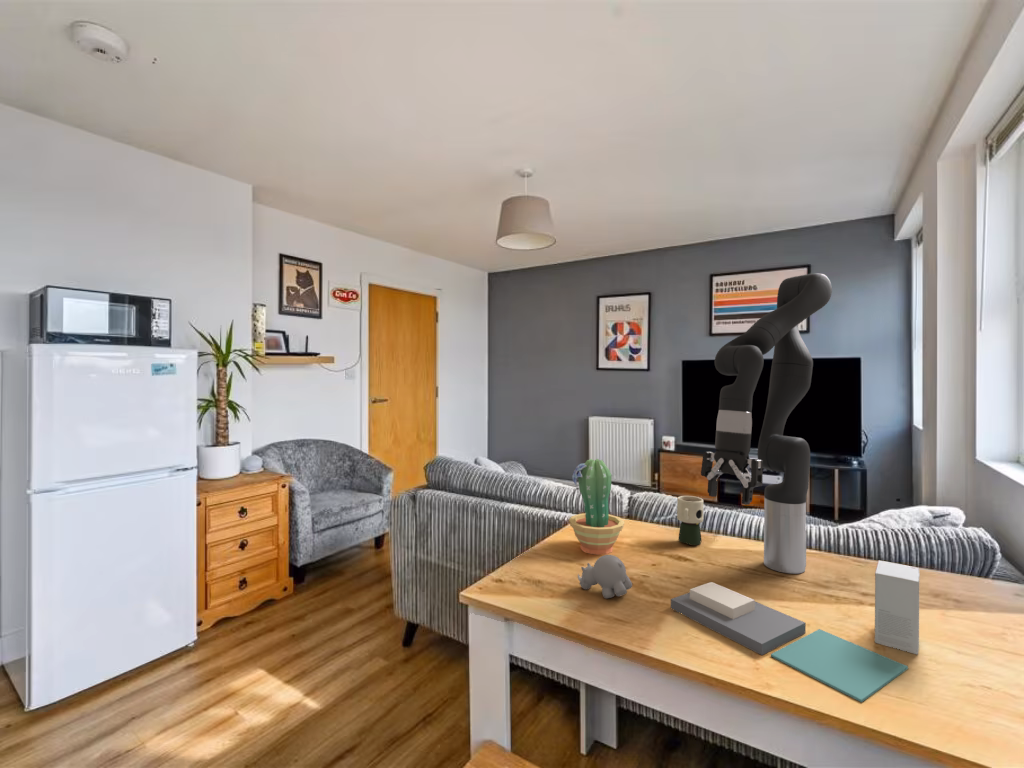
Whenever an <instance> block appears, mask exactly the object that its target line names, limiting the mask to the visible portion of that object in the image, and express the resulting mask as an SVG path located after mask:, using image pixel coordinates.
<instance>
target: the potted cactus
mask: <svg viewBox="0 0 1024 768" xmlns="http://www.w3.org/2000/svg"><path fill="white" fill-rule="evenodd" d="M571 477H572V479H571V480H572V482H573V483H574V486H578V489H579V492H580V495H581V497H582V502H583V507H584V513H579V514H575V515H571V517H570V518H569V519H568V522H569V526H570V527H571V528H572V529H573V532H574V535H575V538H576V539H577V540H578V542H579V543H580V550H581V551H582V552H584V553H587V554H591V555H609V554H610V553H612V552H613V550H614V548H613V546H614V544H615V543H616V542H617V540H618V538H619V535H620V532H622V530H623V529H624V525H625V520H624V519H622V518H621V517H620V516H616V515H612V514H610V513H609V497H610V493H611V490H612V473H611V470H610V468H609V467H608V466H607V465H606V463H605V462H604V461H603V459H600V460H599V458H596V459H592V458H589V459H587V460H586V461H585V463H579V464H578V465H577V466H576V467H575V469H574V471H573V474H572V476H571ZM577 481H578V482H577Z"/></svg>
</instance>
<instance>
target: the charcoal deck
mask: <svg viewBox="0 0 1024 768" xmlns="http://www.w3.org/2000/svg"><path fill="white" fill-rule="evenodd" d="M671 608H672V609H671ZM670 609H671V610H673V609H674V610H673V611H675V610H676V611H675V612H677V613H679V612H680V613H679V614H681V613H682V614H683V616H684V615H685V617H686V616H687V617H686V618H688V617H689V618H688V619H690V620H692V621H694V622H696V623H698V624H701V625H702V626H704V627H706V628H708V629H710V630H712V631H714V632H716V633H718V634H719V635H722V636H723V637H725V638H728V639H730V640H731V641H733V642H736V643H737V644H739V645H741V646H744V647H745V648H746V649H749V650H750V651H752V652H755V653H756V654H758V655H761V656H763V655H766V654H768V653H770V652H771V651H773V650H775V649H777V648H779V647H781V646H782V645H785V644H787V643H789V642H791V641H793V640H795V639H797V638H799V637H800V636H803V635H804V634H806V629H807V628H806V625H807V624H806V622H805V621H803V620H800V619H798V618H795V617H793V616H791V615H790V614H789V615H788V614H786V613H783V612H782V611H779V610H776V609H775V608H771V607H769V606H768V605H765V604H762V603H759V602H757V601H755V610H753V611H751V612H749V613H746V614H744V615H742V616H739V617H737V618H735V619H732V618H730V617H727V616H725V615H723V614H721V613H719V612H717V611H715V610H713V609H711V608H708V607H706V606H704V605H702V604H700V603H698V602H696V601H694V600H691V599H690V591H689V592H687V593H684V594H681V595H679V596H676V597H673V598H670ZM682 614H681V615H682Z"/></svg>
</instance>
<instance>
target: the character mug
mask: <svg viewBox="0 0 1024 768" xmlns="http://www.w3.org/2000/svg"><path fill="white" fill-rule="evenodd" d="M676 502H677V505H676V507H677V508H676V509H677V510H676V511H677V512H676V513H677V515H676V517H677V520H678V521H680V525H679V532H678V541H679V542H681V543H683V544H687V545H688V546H690V545H692V546H699V545H701V544H702V541H703V540H702V534H701V526H700V524H701V523H703V521H704V499H703V498H702V497H699V496H693V495H680V496H677V501H676Z"/></svg>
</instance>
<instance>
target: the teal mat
mask: <svg viewBox="0 0 1024 768" xmlns="http://www.w3.org/2000/svg"><path fill="white" fill-rule="evenodd" d="M770 657H772V658H773V659H775V660H777V661H779V662H781V663H783V664H786V665H787V666H789V667H791V668H793V669H795V670H797V671H798V672H800V673H803V674H804V675H807V676H809V677H811V678H813V679H815V680H817V681H819V682H821V683H823V684H825V685H826V686H829V687H831V688H832V689H834V690H836V691H838V692H840V693H842V694H844V695H846V696H848V697H850V698H851V699H854V700H856V701H858V702H860V703H863V702H864V701H866V700H867V699H868V698H870V697H871V696H873V695H874V694H875V693H876V692H878V691H880V690H881V689H882V688H884V687H885V686H887V684H889V683H890V682H892V681H893V680H895V679H896V678H898V677H899V676H900V675H901V674H903V673H904V672H906V671H907V670H908V669H909V666H908V665H906V664H904V663H902V662H898V661H896V660H893V659H891V658H889V657H887V656H884V655H882V654H879V653H877V652H875V651H872V650H870V649H868V648H865V647H863V646H861V645H859V644H856V643H854V642H851V641H849V640H846V639H844V638H842V637H840V636H838V635H835V634H832V633H830V632H828V631H825V630H822V629H820V628H819V629H816V630H814V631H813V632H811V633H809V634H807V635H805V636H803V637H801V638H800V639H797V640H795V641H794V642H791V643H790V644H789V643H788V645H786V646H784V647H781V648H780V649H778V650H776V651H774V652H773V653H770Z"/></svg>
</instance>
